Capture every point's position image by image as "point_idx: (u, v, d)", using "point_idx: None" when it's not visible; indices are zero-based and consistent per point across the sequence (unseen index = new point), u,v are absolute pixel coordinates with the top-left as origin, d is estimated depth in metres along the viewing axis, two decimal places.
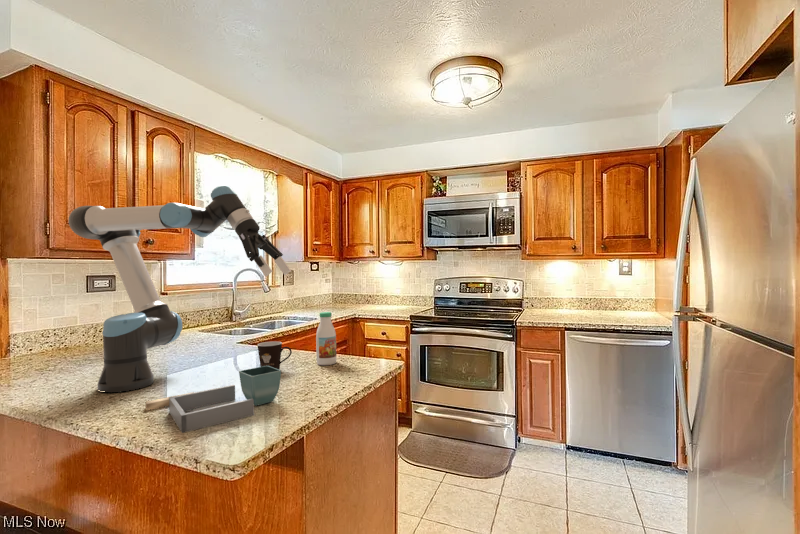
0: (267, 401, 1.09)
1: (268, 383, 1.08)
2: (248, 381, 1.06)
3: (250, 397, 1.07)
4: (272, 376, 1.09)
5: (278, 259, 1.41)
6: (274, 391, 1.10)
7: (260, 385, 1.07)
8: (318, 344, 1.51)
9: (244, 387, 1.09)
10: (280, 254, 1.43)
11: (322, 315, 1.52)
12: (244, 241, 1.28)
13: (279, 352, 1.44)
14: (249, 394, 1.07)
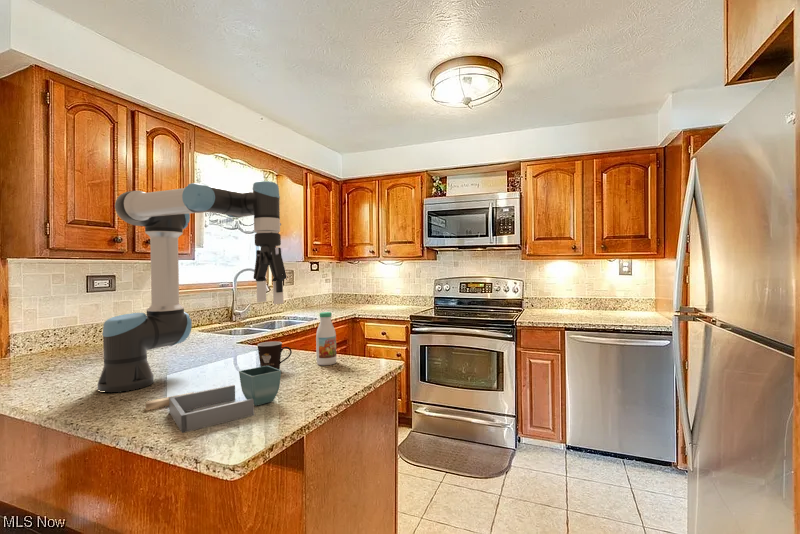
0: (267, 401, 1.09)
1: (268, 383, 1.08)
2: (248, 381, 1.06)
3: (250, 397, 1.07)
4: (272, 376, 1.09)
5: (262, 283, 1.25)
6: (274, 391, 1.10)
7: (260, 385, 1.07)
8: (318, 344, 1.51)
9: (244, 387, 1.09)
10: None
11: (322, 315, 1.52)
12: (277, 257, 1.14)
13: (279, 352, 1.44)
14: (249, 394, 1.07)
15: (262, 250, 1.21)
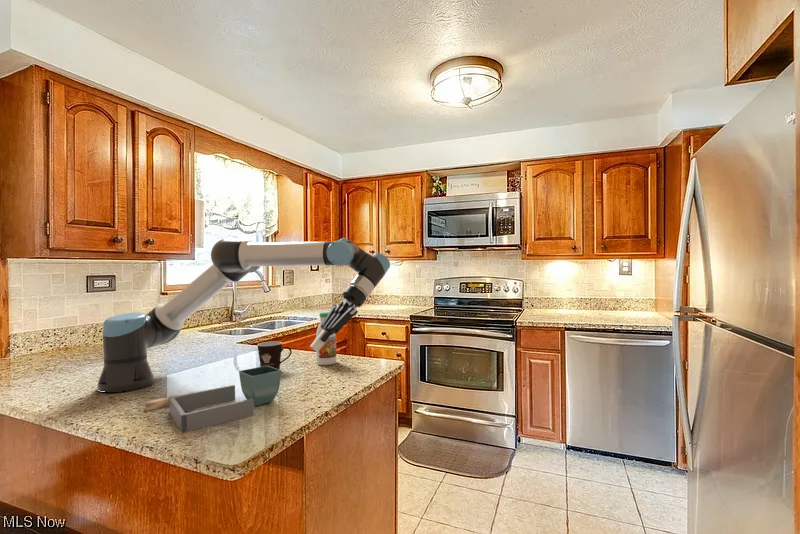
0: (267, 401, 1.09)
1: (268, 383, 1.08)
2: (248, 381, 1.06)
3: (250, 397, 1.07)
4: (272, 376, 1.09)
5: None
6: (274, 391, 1.10)
7: (260, 385, 1.07)
8: None
9: (244, 387, 1.09)
10: None
11: (322, 315, 1.52)
12: (347, 316, 1.23)
13: (279, 352, 1.44)
14: (249, 394, 1.07)
15: (344, 299, 1.31)
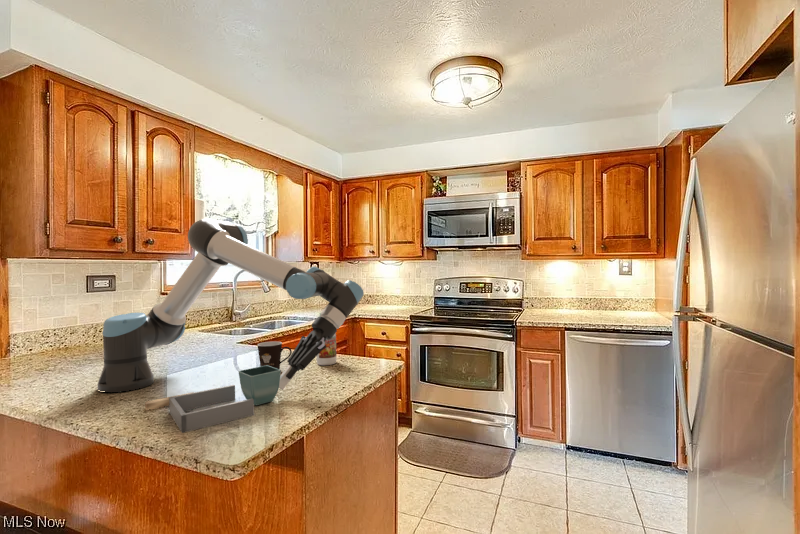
0: (267, 401, 1.09)
1: (268, 383, 1.08)
2: (248, 381, 1.06)
3: (250, 397, 1.07)
4: (271, 376, 1.09)
5: None
6: (274, 391, 1.10)
7: (259, 385, 1.07)
8: None
9: (244, 387, 1.09)
10: None
11: None
12: (315, 351, 1.16)
13: (279, 352, 1.44)
14: (249, 394, 1.07)
15: (313, 331, 1.24)
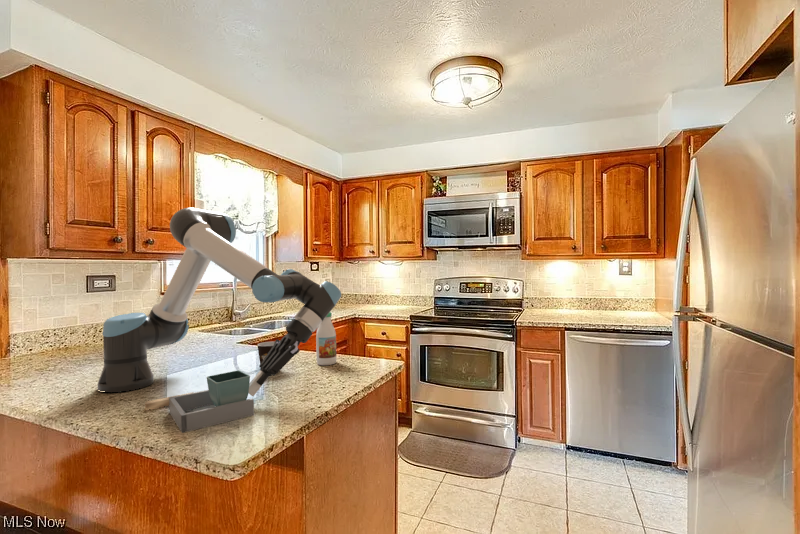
0: None
1: (236, 390, 1.03)
2: (214, 388, 1.01)
3: (216, 404, 1.02)
4: (239, 382, 1.03)
5: None
6: (242, 398, 1.04)
7: (226, 392, 1.01)
8: (318, 344, 1.51)
9: (211, 394, 1.04)
10: None
11: None
12: (287, 355, 1.10)
13: None
14: (215, 401, 1.02)
15: (287, 334, 1.18)
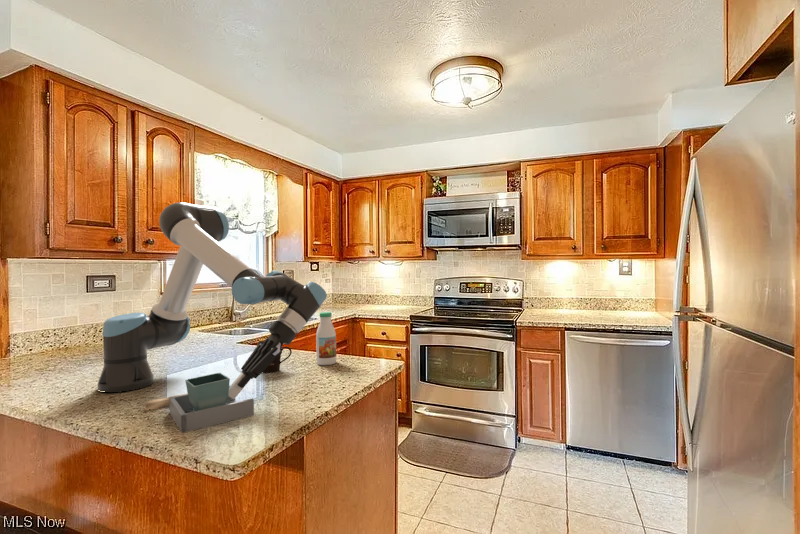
0: None
1: (214, 393, 1.00)
2: (192, 391, 0.99)
3: (195, 408, 1.00)
4: (218, 385, 1.01)
5: None
6: (222, 401, 1.02)
7: (204, 395, 0.99)
8: (318, 344, 1.51)
9: (190, 397, 1.01)
10: None
11: (322, 315, 1.52)
12: (269, 357, 1.08)
13: None
14: (194, 405, 1.00)
15: (271, 335, 1.16)
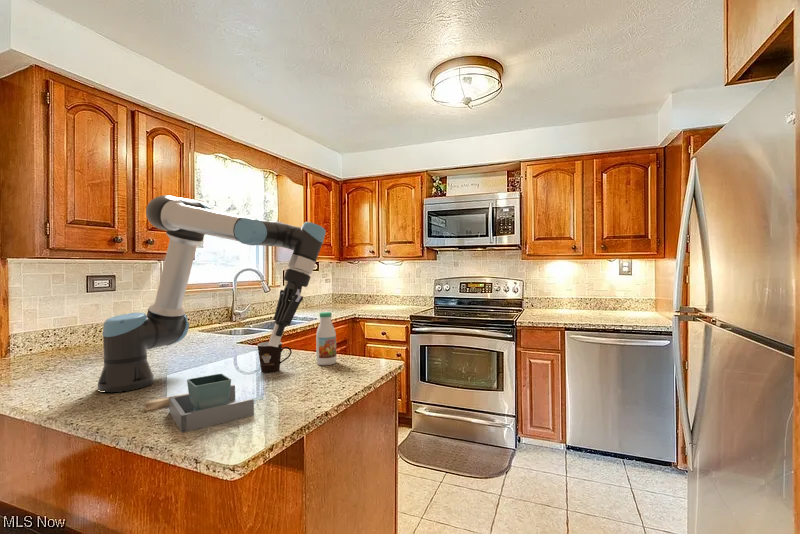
0: None
1: (216, 394, 1.00)
2: (193, 391, 0.99)
3: (196, 408, 1.00)
4: (220, 386, 1.01)
5: None
6: (223, 402, 1.02)
7: (205, 395, 0.99)
8: (318, 344, 1.51)
9: (191, 397, 1.02)
10: None
11: (322, 315, 1.52)
12: (294, 305, 1.16)
13: (279, 352, 1.44)
14: (194, 405, 1.00)
15: (288, 283, 1.22)
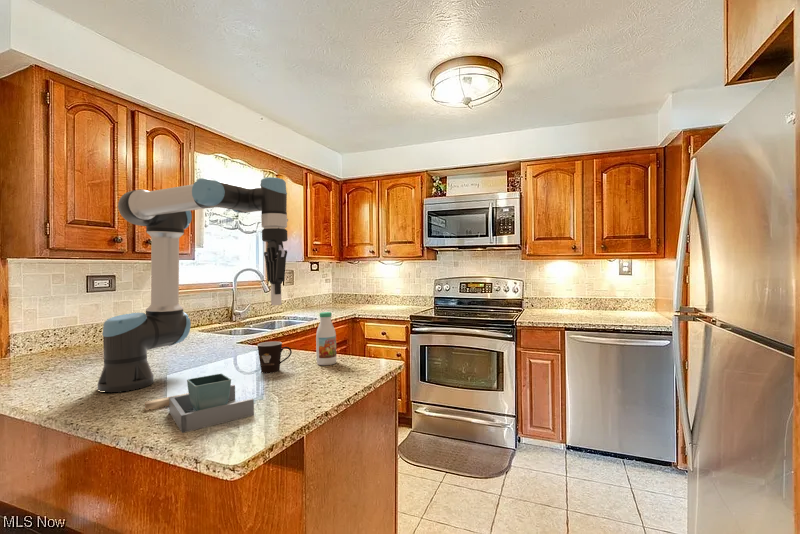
0: None
1: (215, 394, 1.00)
2: (193, 391, 0.99)
3: (196, 408, 1.00)
4: (220, 386, 1.01)
5: None
6: (223, 402, 1.02)
7: (205, 395, 0.99)
8: (318, 344, 1.51)
9: (191, 397, 1.02)
10: None
11: (322, 315, 1.52)
12: (281, 261, 1.18)
13: (279, 352, 1.44)
14: (194, 405, 1.00)
15: (268, 243, 1.23)
